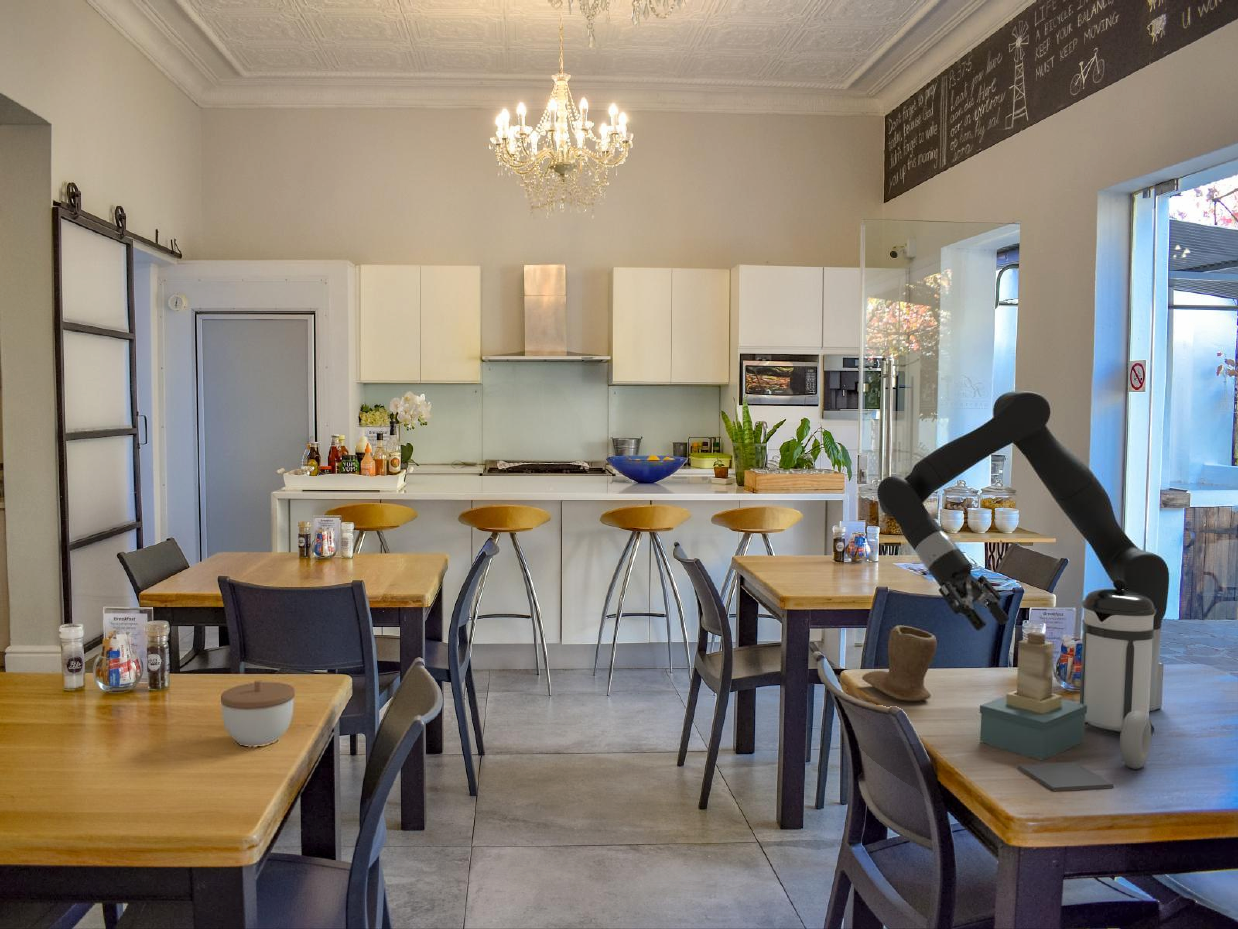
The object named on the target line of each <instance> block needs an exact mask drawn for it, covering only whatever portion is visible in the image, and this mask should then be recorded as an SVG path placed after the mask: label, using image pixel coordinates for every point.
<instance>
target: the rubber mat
mask: <svg viewBox="0 0 1238 929" xmlns="http://www.w3.org/2000/svg"><path fill="white" fill-rule="evenodd" d="M1017 769H1019V770H1020V771H1021V772H1023V773H1024V774H1026V773H1027V774H1028V776H1029V777H1031V778H1032V779H1034V780H1035V781H1037V782H1039V783H1040V784H1041V785H1043V786H1044V787H1045V788H1047V789H1049V790H1050V791H1053V792H1058V791H1059V792H1061V791H1075V790H1077V791H1078V790H1079V791H1080V790H1081V791H1082V790H1093V789H1094V790H1095V789H1096V790H1097V789H1112V788H1114V783H1112V782H1111V781H1109V780H1107V779H1106V778H1104V777H1102V776H1100V775H1099V774H1097V773H1095V772H1094V771H1091V770H1090V769H1089V768H1087V767H1085V766H1083V765H1082V764H1079V763H1078V762H1077V761H1069V762H1068V761H1067V762H1065V761H1064V762H1047V763H1045V762H1044V763H1031V764H1027V763H1026V764H1018V765H1017ZM1027 774H1026V775H1027Z"/></svg>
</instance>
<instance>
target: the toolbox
mask: <svg viewBox="0 0 1238 929" xmlns="http://www.w3.org/2000/svg"><path fill="white" fill-rule="evenodd" d="M1086 713H1087V705H1084V704H1080V702H1075V701H1071V700H1068V699H1063V696H1062V695H1059V694H1056V693H1052V697H1051V698H1048V699H1046V700H1043V701H1039V700H1035V699H1031V698H1027V697H1023V696H1019V695H1017V689H1016V690H1013V691H1010V692H1007V693H1006V695H1005V696H1003V697H1000V698H996V699H994V700H992V701H988V702H984V703H983V704H980V705H979V714H981V716H980V733H979V734H980V737H979V742H980V741H982V742H984V743H983V744H985V743H988V744H987V745H989V744H990V745H989V746H992V747H995V746H996V748H998V749H999V748H1000V749H1002V750H1005V751H1006V750H1007V751H1008V752H1009V751H1010V752H1013V753H1016V754H1020V755H1022V756H1026V757H1029V758H1031V759H1032V758H1033V759H1036V760H1040V761H1046V760H1048V759H1049V758H1051V757H1053V756H1056V755H1058V754H1060V753H1062V752H1065V751H1066V750H1069V749H1071V748H1073V747H1076V746H1078V745H1079V744H1082V743H1084V742H1085V730H1086V728H1085V726H1086V725H1085V714H1086ZM982 742H981V743H982Z"/></svg>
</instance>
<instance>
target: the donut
mask: <svg viewBox="0 0 1238 929" xmlns="http://www.w3.org/2000/svg"><path fill="white" fill-rule="evenodd" d="M1150 722H1151V721H1150V718H1149V719H1148V717H1147V716H1146V715H1145V714H1144V713H1143V712H1141V711H1132V712H1129V713H1128V714H1127V715H1126V717H1125V718H1124V721H1123V724H1122V728H1121V734H1120V736H1119V753H1120V757H1121V759H1122V762H1123V763H1124V764H1125V765H1126V766H1127V767H1128V768H1131V769H1133V770H1136V769H1139V768H1142V767H1144V765H1145V764H1146V762H1147V761H1148V757H1149V754H1150V749H1151V741H1152V733H1151V726H1150Z"/></svg>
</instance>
